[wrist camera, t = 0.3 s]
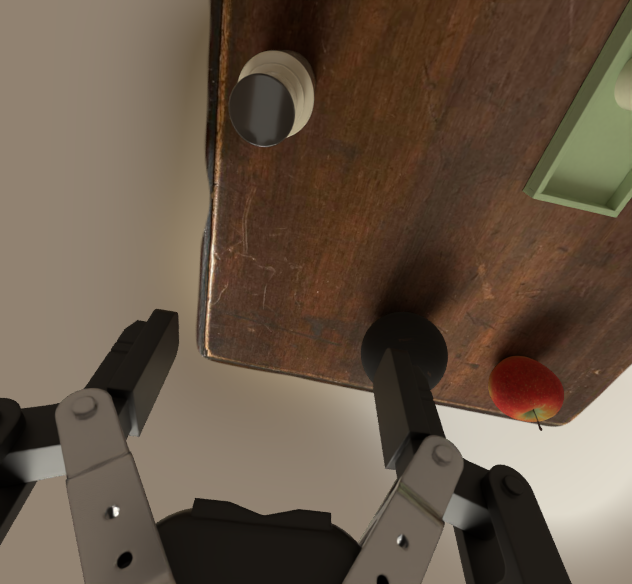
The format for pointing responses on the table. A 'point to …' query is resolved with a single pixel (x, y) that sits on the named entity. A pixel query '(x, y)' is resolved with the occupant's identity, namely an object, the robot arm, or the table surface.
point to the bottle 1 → (272, 97)
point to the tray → (592, 139)
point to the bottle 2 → (624, 87)
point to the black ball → (406, 344)
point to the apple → (525, 389)
